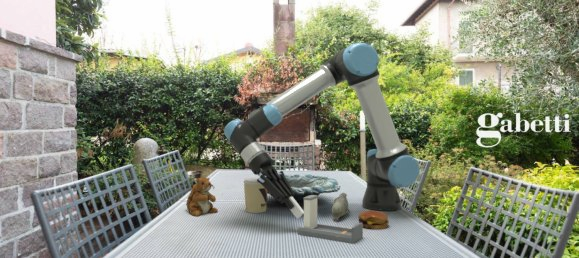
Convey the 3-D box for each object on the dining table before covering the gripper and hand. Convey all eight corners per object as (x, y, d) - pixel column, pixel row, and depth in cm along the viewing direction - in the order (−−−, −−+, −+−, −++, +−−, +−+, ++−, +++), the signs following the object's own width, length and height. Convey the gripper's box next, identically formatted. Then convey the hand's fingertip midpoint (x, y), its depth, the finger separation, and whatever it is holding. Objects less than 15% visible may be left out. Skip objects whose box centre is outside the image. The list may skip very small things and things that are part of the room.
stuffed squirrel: (196, 217, 150) (196, 180, 149) (178, 210, 160) (178, 176, 160) (221, 213, 156) (221, 177, 156) (201, 207, 167) (201, 173, 167)
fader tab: (303, 229, 128) (303, 197, 128) (311, 225, 133) (311, 194, 132) (309, 230, 127) (309, 198, 127) (317, 226, 131) (317, 195, 131)
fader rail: (297, 234, 128) (297, 219, 128) (308, 229, 134) (308, 215, 134) (353, 243, 119) (353, 227, 119) (362, 237, 125) (362, 222, 125)
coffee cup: (264, 214, 155) (264, 181, 155) (240, 212, 157) (240, 180, 156) (271, 208, 164) (271, 177, 164) (247, 207, 166) (247, 177, 166)
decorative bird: (327, 221, 145) (327, 200, 144) (336, 211, 160) (336, 192, 160) (343, 222, 143) (343, 201, 143) (350, 212, 158) (350, 193, 158)
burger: (381, 222, 144) (381, 208, 144) (393, 229, 135) (393, 214, 135) (353, 223, 142) (353, 209, 142) (363, 230, 133) (364, 216, 133)
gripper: (261, 164, 146) (303, 218, 138) (238, 168, 135) (282, 227, 127) (274, 150, 143) (318, 204, 135) (252, 152, 132) (298, 212, 124)
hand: (300, 215), depth 131 cm, fingers closed
